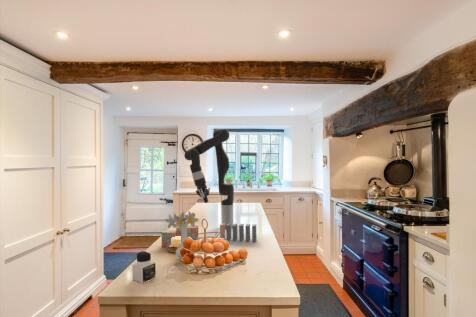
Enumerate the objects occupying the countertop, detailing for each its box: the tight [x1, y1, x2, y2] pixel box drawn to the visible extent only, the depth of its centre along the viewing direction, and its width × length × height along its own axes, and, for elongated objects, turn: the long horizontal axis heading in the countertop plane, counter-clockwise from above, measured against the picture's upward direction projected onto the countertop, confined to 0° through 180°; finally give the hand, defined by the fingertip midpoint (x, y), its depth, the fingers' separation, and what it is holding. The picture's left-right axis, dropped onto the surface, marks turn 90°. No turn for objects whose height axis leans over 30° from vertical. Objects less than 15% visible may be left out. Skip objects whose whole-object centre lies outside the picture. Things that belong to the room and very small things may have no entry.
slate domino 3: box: [238, 223, 245, 242], centre depth 181 cm, size 2×5×10 cm, turn 168°
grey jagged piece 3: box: [232, 223, 239, 242], centre depth 182 cm, size 2×5×10 cm, turn 168°
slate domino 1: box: [225, 223, 232, 242], centre depth 183 cm, size 2×5×10 cm, turn 168°
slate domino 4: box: [251, 223, 258, 243], centre depth 180 cm, size 2×5×10 cm, turn 168°
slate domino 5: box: [245, 223, 251, 243], centre depth 181 cm, size 2×5×10 cm, turn 168°
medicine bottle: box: [132, 250, 157, 284], centre depth 126 cm, size 7×7×12 cm
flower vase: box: [165, 211, 199, 261], centre depth 150 cm, size 13×18×25 cm
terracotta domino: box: [219, 223, 226, 239], centre depth 184 cm, size 2×5×10 cm, turn 168°
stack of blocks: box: [161, 224, 199, 248], centre depth 171 cm, size 21×6×12 cm, turn 85°
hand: (206, 202), depth 190 cm, fingers closed
